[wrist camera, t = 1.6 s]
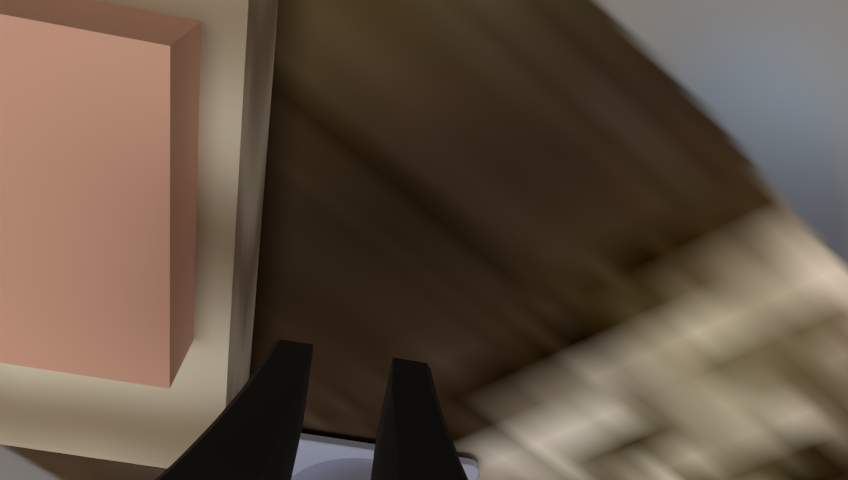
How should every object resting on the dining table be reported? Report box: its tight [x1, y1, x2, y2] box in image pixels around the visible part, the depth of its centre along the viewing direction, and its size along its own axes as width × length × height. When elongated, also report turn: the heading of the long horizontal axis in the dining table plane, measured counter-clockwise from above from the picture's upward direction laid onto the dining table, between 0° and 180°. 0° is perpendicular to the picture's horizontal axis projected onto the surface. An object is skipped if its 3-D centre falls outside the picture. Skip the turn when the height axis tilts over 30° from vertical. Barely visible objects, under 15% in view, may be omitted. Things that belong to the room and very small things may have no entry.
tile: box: [0, 0, 201, 389], centre depth 16 cm, size 9×6×2 cm, turn 169°
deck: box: [0, 0, 279, 468], centre depth 20 cm, size 16×11×4 cm
